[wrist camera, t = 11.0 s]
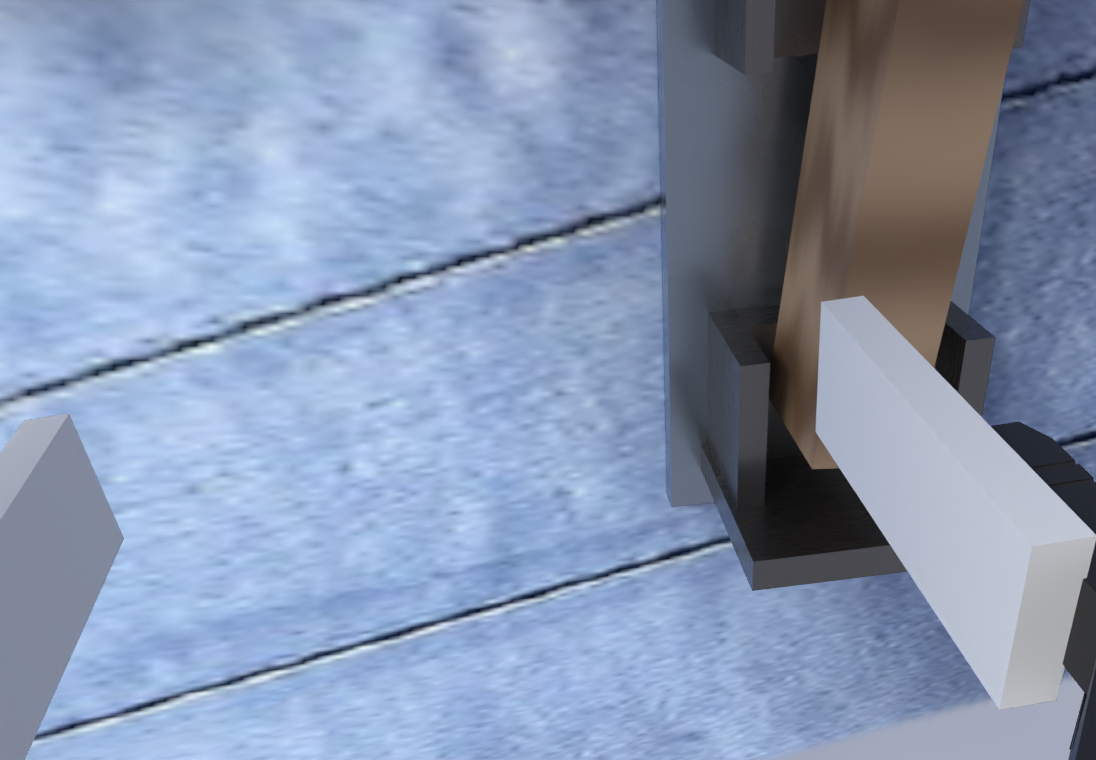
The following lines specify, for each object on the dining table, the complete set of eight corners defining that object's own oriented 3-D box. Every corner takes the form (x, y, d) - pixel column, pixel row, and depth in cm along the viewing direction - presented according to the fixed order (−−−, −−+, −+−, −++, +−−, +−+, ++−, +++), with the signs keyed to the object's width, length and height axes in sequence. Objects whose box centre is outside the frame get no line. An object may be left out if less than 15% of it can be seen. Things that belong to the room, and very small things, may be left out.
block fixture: (651, -261, 32) (726, -315, 23) (1042, -294, 33) (1258, -359, 24) (666, 493, 47) (715, 632, 39) (933, 461, 48) (1041, 590, 39)
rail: (833, -45, 33) (905, -32, 28) (940, -43, 34) (1031, -30, 28) (766, 395, 42) (812, 469, 36) (852, 392, 42) (910, 465, 37)
